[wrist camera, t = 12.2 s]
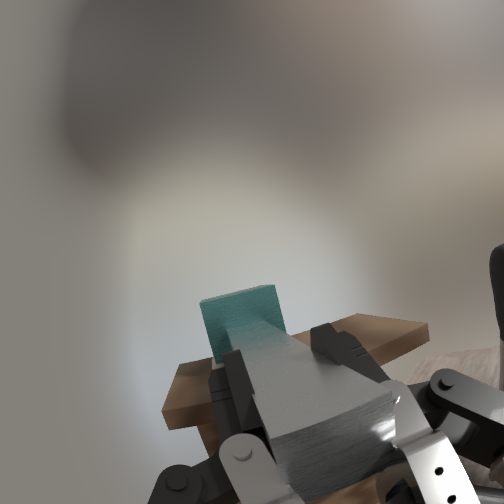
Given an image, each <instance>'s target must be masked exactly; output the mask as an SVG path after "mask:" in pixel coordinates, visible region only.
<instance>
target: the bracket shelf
mask: <svg viewBox="0 0 504 504" xmlns="http://www.w3.org/2000/svg"><path fill="white" fill-rule="evenodd" d="M330 324H331V325H332V326H333V327H334V329H335V330H336V331H337V333H339V332H341V331H346V332H348V333H350V334H351V335H353V336H355V337H356V338H357V339H358V341H359V342H360V343H361V344H362V347H364V348H365V349H366V350H367V352H368V354H370V355H371V356H372V358H373V359H374V360H375V361H376V362H377V364H378V365H379V366H382V365H383V364H386V363H388V362H390V361H392V360H394V359H396V358H398V357H400V356H402V355H404V354H406V353H408V352H410V351H412V350H414V349H415V348H417V347H419V346H421V345H423V344H425V343H426V342H428V341H430V340H429V331H428V324H427V323H423V322H414V321H406V320H400V319H392V318H385V317H378V316H372V315H365V314H358V313H357V314H355V315H352V316H349V317H347V318H344V319H341V320H338V321H335V322H332V323H330ZM292 337H294V338H295V339H297V340H299V341H301V342H302V343H304V344H306V345H308V346H309V347H311V344H310V330H309V331H305V332H302V333H299V334H295V335H292ZM222 367H225V366H224V363H221V364H216V362H215V359H214V357H211V358H206V359H202V360H198V361H193V362H189V363H184V364H180V365H179V367H178V369H177V372H176V375H175V377H174V380H173V382H172V385H171V388H170V390H169V393H168V395H167V398H166V401H165V403H164V406H163V408H162V414H163V416H164V419H165V422H166V424H167V426H168V429H169V430H174V429H181V428H186V427H192V426H197V428H198V430H199V433H200V435H201V438H202V441H203V443H204V446H205V448H206V450H207V453H208V455H209V458H210V457H211V456H212V455H213V454H214V453H215V452H216V450H217V448H218V446H219V442H220V438H219V433H218V428H217V424H216V419H215V414H214V410H213V405H212V400H211V394H210V390H209V385H208V379H209V376H210V373H211V370H214V369H218V368H222ZM375 482H376V477H375V474H374V475H372V476H370V477H368V478H366V479H364V480H362V481H360V482H358V483H356V484H354V485H351V486H349V487H347V488H344V489H342V490H340V491H337V492H335V493H332V494H330V495H327V496H325V497H322V498H319V499H317V500H314V501H311V502H308V503H305V504H380V501H379V498H378V495H377V491H376V485H375ZM237 504H242V503H241V501H240V502H239V503H237Z"/></svg>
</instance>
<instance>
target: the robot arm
mask: <svg viewBox="0 0 504 504" xmlns="http://www.w3.org/2000/svg"><path fill="white" fill-rule="evenodd" d="M489 266H490V277H491V284H492V289H493V294H494V302H495V309H496V317H497V321H498V325H499V329H500V381H499V389H496V388H494V387H492V386H489V385H487V384H485V383H482V382H480V381H478V380H475V379H473V378H471V377H468V376H466V375H464V374H462V373H459V372H457V371H455V370H452V369H440V370H438V371H436V372H435V373H434V374H433V375H432V377H431V379H430V381H427V382H423V383H418V384H413V385H405V384H404V383H402V382H400V381H397V380H391V379H390V378H389V377H388V376H387V375H386V373H385V372H384V371H383V370H382V369H381V367H380V366H379V365H378V364H377V362H376V361H375V360H374V359H373V358H372V356H371V355H370V354H368V352H367V350H366V349H365V348H364V347H362V344H361V343H360V342H359V341H358V339H357V338H356V337H355V336H353V335H351V334H350V333H348V332H346V331H341V332H339V333H337V331H336V330H335V329H334V327H333V326H332V325H331V324H330V323H326V324H323V325H320V326H317V327H314V328H311V330H310V344H311V350H313V351H314V352H316V353H318V354H320V355H321V356H323V357H325V358H327V359H328V360H330V361H332V362H334V363H335V364H337V365H339V366H340V365H344V366H346V367H348V368H350V369H352V370H354V371H355V372H357V373H359V374H361V375H363V376H365V377H367V378H369V379H371V380H373V381H375V382H377V383H379V384H381V385H383V386H385V387H387V388H389V389H391V390H392V397H393V407H394V419H395V434H396V438H395V439H393V440H391V450H390V466H389V467H388V468H386V469H384V470H382V471H380V472H378V473H376V474H375V477H376V482H375V485H376V491H377V495H378V498H379V501H380V504H504V244H502V245H499V246H498V247H496V248H495V249H494V250H493V251H492V253H491V256H490V263H489ZM222 358H223V362H224V366H225V367H222V368H218V369H214V370H211V373H210V376H209V379H208V385H209V390H210V394H211V400H212V405H213V410H214V414H215V419H216V424H217V428H218V433H219V438H220V442H219V446H218V448H217V450H216V452H215V453H214V454H213V455H212V456H211V457H210V458H208V459H207V460H205V461H203V462H201V463H199V464H197V465H195V466H193V467H190V466H186V465H173V466H170V467H168V468H166V469H165V470H163V471H162V473H161V474H160V475H159V477H158V479H157V482H156V484H155V487H154V489H153V492H152V494H151V496H150V499H149V501H148V504H237V503H239V502H240V501H241V503H242V504H305V503H304V501H303V500H302V499H301V498H300V496H299V495H298V494H297V493H295V492H294V491H293V489H292V488H291V487H290V485H289V484H288V485H285V484H284V481H283V479H282V476H281V474H280V471H279V468H278V466H277V465H276V463H275V462H274V460H273V458H272V457H271V455H270V452H269V449H268V445H267V441H266V437H265V433H264V429H263V425H262V423H261V420H260V417H259V414H258V411H257V408H256V405H255V403H254V400H253V397H252V394H255V392H254V389H253V386H252V383H251V380H250V377H249V374H248V371H247V369H246V366H245V363H244V360H243V357H242V354H241V351H240V349H238V350H234V351H230V352H226V353H222ZM456 454H458V455H461V456H463V457H465V458H467V459H469V460H471V461H474V462H476V463H478V464H481V465H483V466H485V467H487V468H490V473H489V479H490V480H491V481H497V482H499V483H500V484H501V486H502V488H503V489H496V488H489V487H483V486H477V485H471V483H470V481H469V478H468V476H467V474H466V472H465V470H464V468H463V466H462V464H461V462H460V460H459V458H458V457H457V455H456Z"/></svg>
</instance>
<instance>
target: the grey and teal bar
mask: <svg viewBox="0 0 504 504" xmlns="http://www.w3.org/2000/svg"><path fill="white" fill-rule="evenodd" d="M200 308H201V311H202V315H203V319H204V323H205V326H206V330H207V334H208V337H209V341H210V345H211V348H212V352H213V355H214V359H215V362H216V364H221V363H224V362H223V358H222V353H226V352H230V351H234V350H238V349H240V351H241V354H242V357H243V360H244V363H245V366H246V369H247V371H248V374H249V377H250V380H251V383H252V386H253V389H254V392H255V394H252V397H253V400H254V403H255V405H256V408H257V411H258V414H259V417H260V420H261V423H262V425H263V429H264V433H265V437H266V441H267V445H268V449H269V452H270V455H271V457H272V458H273V460H274V462H275V463H276V465H277V466H278V468H279V471H280V474H281V476H282V479H283V481H284V484H285V485H288V484H289V485H290V487H291V488H292V489H293V491H294V492H295V493H297V494H298V495H299V496H300V498H301V499H302V500H303V501H304V503H308V502H311V501H314V500H317V499H319V498H322V497H325V496H327V495H330V494H332V493H335V492H337V491H340V490H342V489H344V488H347V487H349V486H351V485H354V484H356V483H358V482H360V481H362V480H364V479H366V478H368V477H370V476H372V475H374V474H376V473H378V472H380V471H382V470H384V469H386V468H388V467H389V466H390V450H391V440H393V439H395V438H396V434H395V419H394V407H393V397H392V390H391V389H389V388H387V387H385V386H383V385H381V384H379V383H377V382H375V381H373V380H371V379H369V378H367V377H365V376H363V375H361V374H359V373H357V372H355V371H354V370H352V369H350V368H348V367H346V366H344V365H340V366H339V365H337V364H335V363H334V362H332V361H330V360H328V359H327V358H325V357H323V356H321V355H320V354H318V353H316V352H314V351H313V350H311V347H309V346H308V345H306V344H304V343H302V342H301V341H299V340H297V339H295V338H294V337H292V336H290V335H288V334H287V333H286V329H285V325H284V321H283V317H282V313H281V309H280V305H279V301H278V297H277V293H276V289H275V285H261V286H257V287H253V288H250V289H245V290H241V291H238V292H234V293H229V294H226V295H221V296H217V297H213V298H209V299H205V300H202V301H201V302H200Z"/></svg>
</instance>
